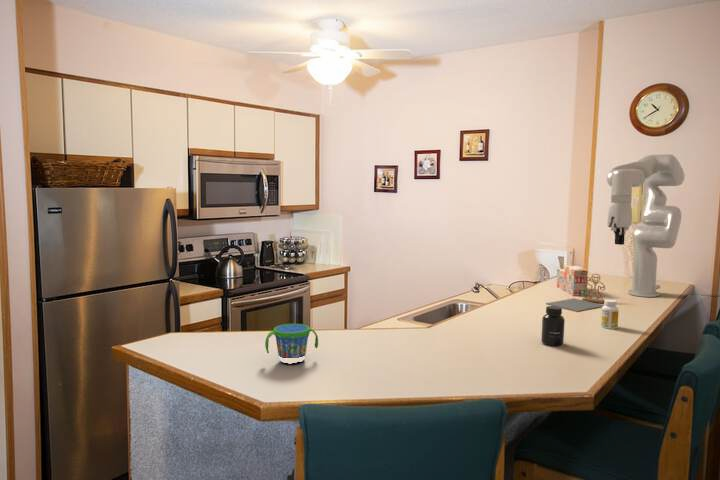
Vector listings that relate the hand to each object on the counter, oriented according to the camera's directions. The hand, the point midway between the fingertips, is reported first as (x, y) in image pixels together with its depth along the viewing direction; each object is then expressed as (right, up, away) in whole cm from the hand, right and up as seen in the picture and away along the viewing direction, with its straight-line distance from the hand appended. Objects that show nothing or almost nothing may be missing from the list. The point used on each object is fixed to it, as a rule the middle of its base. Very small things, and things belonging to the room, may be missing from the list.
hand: (619, 244), depth 222 cm
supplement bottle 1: (-45, -32, -48) cm, 73 cm away
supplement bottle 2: (-18, -30, -29) cm, 45 cm away
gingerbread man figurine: (-6, -25, +11) cm, 28 cm away
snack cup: (-128, -35, -63) cm, 146 cm away
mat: (-16, -26, +5) cm, 31 cm away
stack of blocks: (-7, -23, +33) cm, 41 cm away
